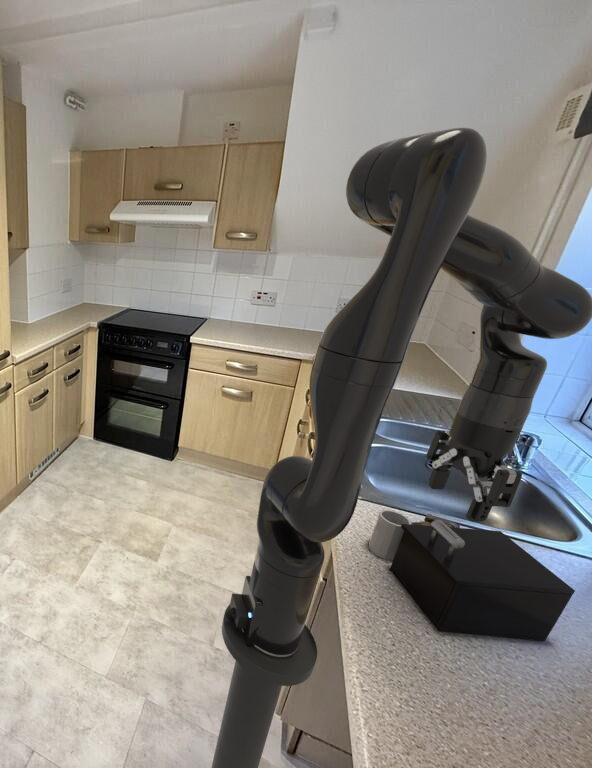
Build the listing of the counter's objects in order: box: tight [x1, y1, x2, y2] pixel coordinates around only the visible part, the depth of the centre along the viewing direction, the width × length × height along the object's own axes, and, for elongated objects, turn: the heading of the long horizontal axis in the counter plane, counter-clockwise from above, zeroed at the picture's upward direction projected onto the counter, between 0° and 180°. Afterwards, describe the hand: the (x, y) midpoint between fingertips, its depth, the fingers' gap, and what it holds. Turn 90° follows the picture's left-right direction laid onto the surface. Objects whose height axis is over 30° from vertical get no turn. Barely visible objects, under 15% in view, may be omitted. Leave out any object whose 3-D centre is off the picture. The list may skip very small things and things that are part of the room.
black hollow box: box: [389, 531, 573, 642], centre depth 73 cm, size 17×14×10 cm
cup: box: [368, 509, 412, 561], centre depth 85 cm, size 5×5×8 cm
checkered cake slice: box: [411, 513, 461, 528], centre depth 89 cm, size 10×7×12 cm
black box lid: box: [401, 520, 576, 595], centre depth 70 cm, size 17×14×5 cm
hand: (453, 503), depth 69 cm, fingers open, 8 cm apart
